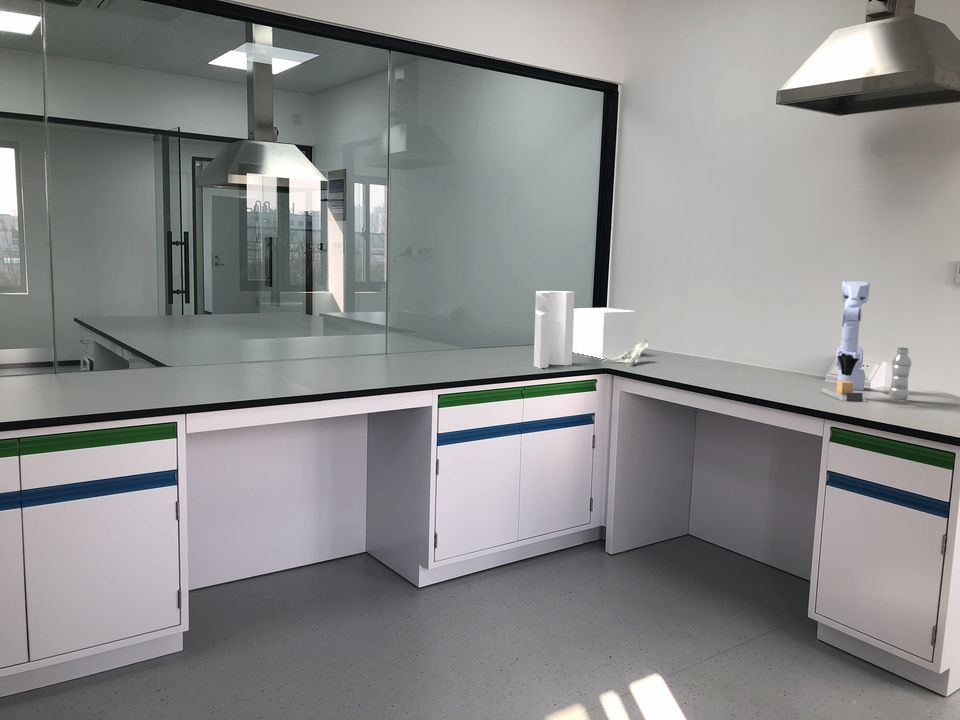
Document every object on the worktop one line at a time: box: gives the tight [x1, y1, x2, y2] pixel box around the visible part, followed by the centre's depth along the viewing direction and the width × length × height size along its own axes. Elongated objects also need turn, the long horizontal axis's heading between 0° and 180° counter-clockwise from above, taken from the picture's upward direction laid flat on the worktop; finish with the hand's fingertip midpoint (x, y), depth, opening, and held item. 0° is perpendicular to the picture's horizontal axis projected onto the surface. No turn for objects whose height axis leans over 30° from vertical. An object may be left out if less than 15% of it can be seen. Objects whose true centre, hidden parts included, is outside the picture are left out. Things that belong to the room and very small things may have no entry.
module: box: [835, 380, 854, 395], centre depth 289 cm, size 4×4×6 cm
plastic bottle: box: [888, 347, 912, 401], centre depth 289 cm, size 6×7×20 cm
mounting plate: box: [819, 387, 867, 403], centre depth 291 cm, size 10×18×4 cm, turn 0°
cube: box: [572, 307, 637, 360], centre depth 401 cm, size 25×21×24 cm
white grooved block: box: [533, 290, 575, 368], centre depth 359 cm, size 35×11×21 cm
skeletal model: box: [601, 337, 649, 368], centre depth 373 cm, size 16×9×25 cm
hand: (846, 374), depth 289 cm, fingers closed
